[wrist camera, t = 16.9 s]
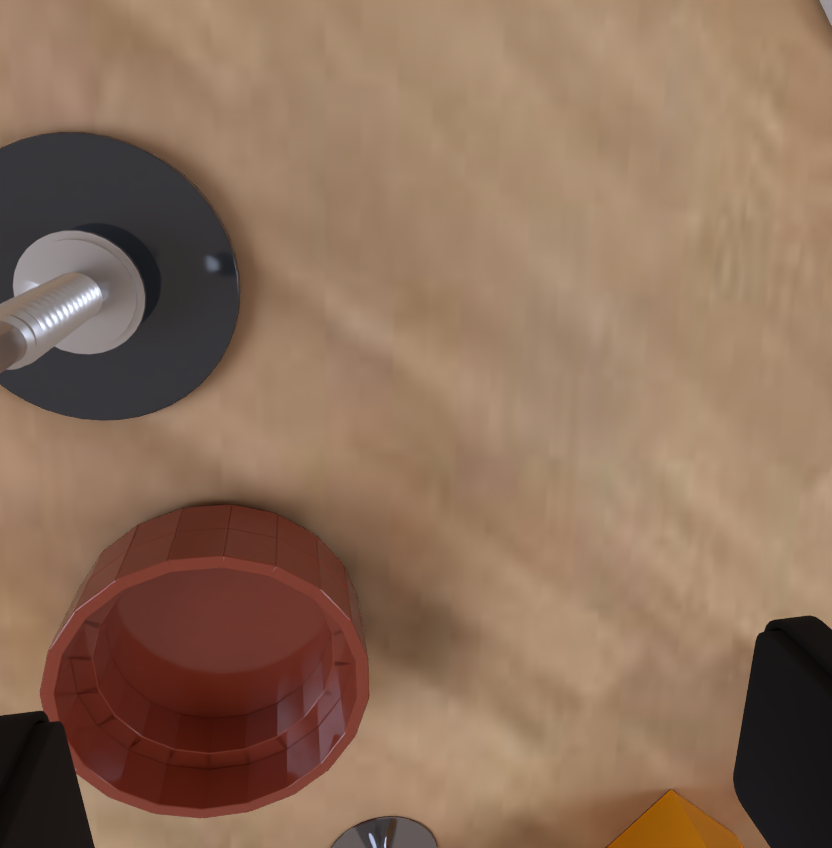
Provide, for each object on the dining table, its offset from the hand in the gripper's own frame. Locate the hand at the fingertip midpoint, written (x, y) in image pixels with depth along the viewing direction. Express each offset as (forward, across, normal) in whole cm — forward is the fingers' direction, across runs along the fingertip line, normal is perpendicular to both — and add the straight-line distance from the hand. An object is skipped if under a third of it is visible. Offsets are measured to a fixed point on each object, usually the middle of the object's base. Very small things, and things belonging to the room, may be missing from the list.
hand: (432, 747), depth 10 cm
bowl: (+25, +7, +15) cm, 30 cm away
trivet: (+25, +10, -3) cm, 27 cm away
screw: (+25, +10, -3) cm, 27 cm away
